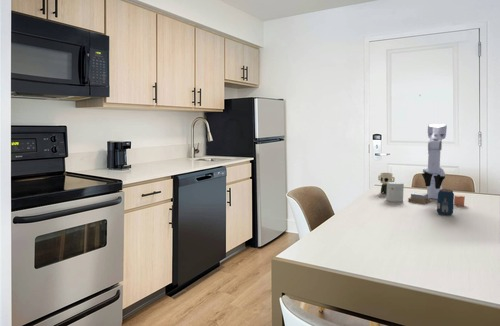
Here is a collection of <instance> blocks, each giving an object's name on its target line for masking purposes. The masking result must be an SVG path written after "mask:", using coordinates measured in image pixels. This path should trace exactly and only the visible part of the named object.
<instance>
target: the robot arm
mask: <svg viewBox="0 0 500 326" xmlns="http://www.w3.org/2000/svg"><path fill="white" fill-rule="evenodd" d="M427 137H428V139H429V141H428V142H427V151H428V152H427V155H428V156H427V157H428V158H427V168H424V169H422V173H421V176H422V178H423V180H424V184H425V187H426V194H428V198H431V199H437V200H438V192H439V190H441V189H443V185H442V184H443V183H444V181H445V179H446V176H445V175H446V173H445V171H444V169H443V168H442V167H441V151H442V149H443V147H442V145H443V142H442V140H444V139H446V137H447V124H446V123H433V124H431V123H429V124H428V126H427Z"/></svg>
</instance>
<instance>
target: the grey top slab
mask: <svg viewBox="0 0 500 326" xmlns="http://www.w3.org/2000/svg"><path fill="white" fill-rule="evenodd" d="M410 197H411V198H413V199H420V200H425V199H427V198H428V194H427V192H426V193H425V192H418V191H417V192H416V191H415V192H412V193H410Z"/></svg>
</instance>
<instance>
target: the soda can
mask: <svg viewBox="0 0 500 326" xmlns="http://www.w3.org/2000/svg"><path fill="white" fill-rule="evenodd" d="M454 196H455V194H454V191H453V190H451V189H445V188H442V189H441V190H439V192H438V199H437V202H436V203H437V204H436V205H437V206H436V212H437V215H440V216H446V217H450V216H453V214H454V206H455V205H454Z"/></svg>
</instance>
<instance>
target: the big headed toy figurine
mask: <svg viewBox="0 0 500 326" xmlns="http://www.w3.org/2000/svg"><path fill="white" fill-rule="evenodd" d="M378 181H380V184H381V186H380V187H381V188H380V193H381V194H386V195H387V182H395V177H394V176H393V173H391V172H381V173H380V175H378Z"/></svg>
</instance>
